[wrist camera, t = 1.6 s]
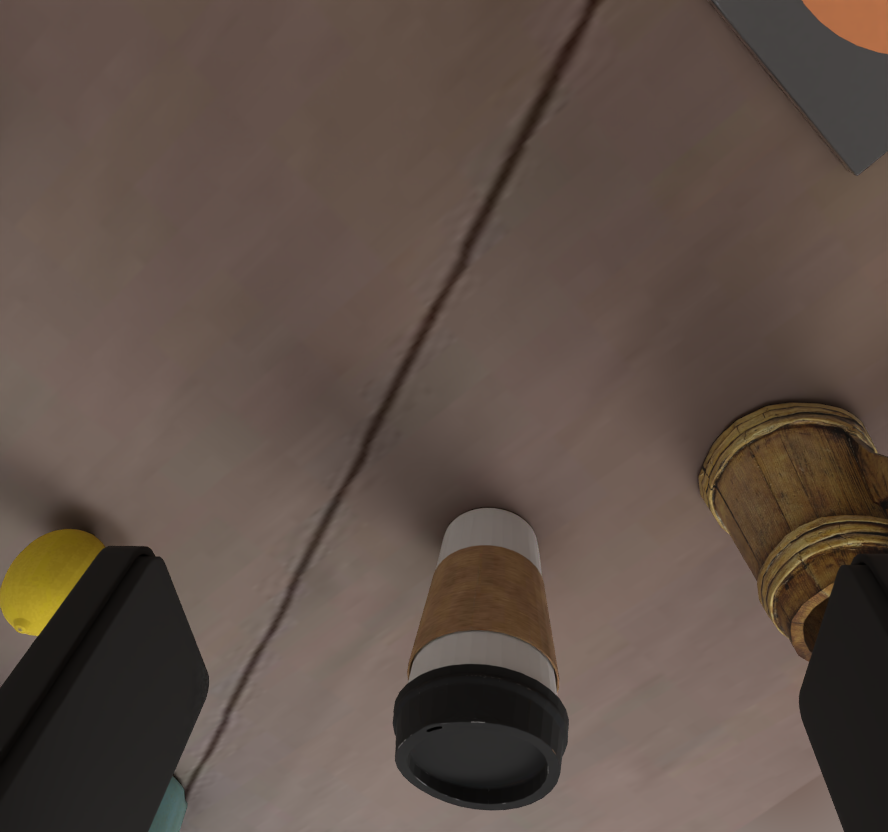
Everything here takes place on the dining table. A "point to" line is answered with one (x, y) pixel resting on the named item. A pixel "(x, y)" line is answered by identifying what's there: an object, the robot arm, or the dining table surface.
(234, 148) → the dining table surface
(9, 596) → the lemon
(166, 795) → the flower pot
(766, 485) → the wooden mug
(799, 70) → the cooktop
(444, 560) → the coffee cup
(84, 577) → the robot arm
